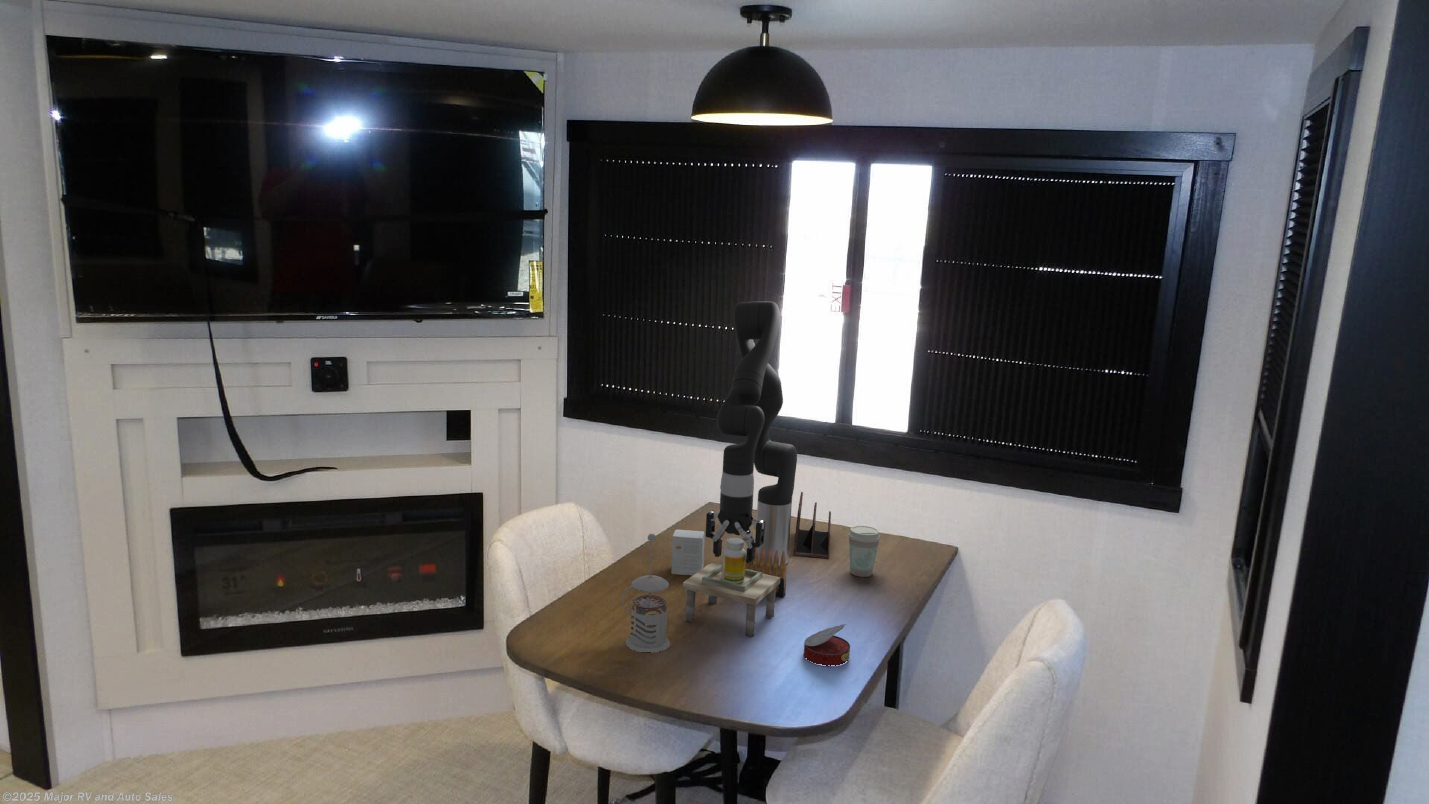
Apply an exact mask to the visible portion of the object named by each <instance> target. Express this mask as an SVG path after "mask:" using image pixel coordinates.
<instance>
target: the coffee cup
mask: <svg viewBox="0 0 1429 804" xmlns="http://www.w3.org/2000/svg"><path fill="white" fill-rule="evenodd" d="M847 537H848V544H849V545H848V549H849V550H848V551H849V570H850V574H852V575H853V576H855V577H859V578H861V577H862V578H865V577H866V578H867V577H871V576H872V575H873V573H874V572H873V571H874V567H875V563H876V557H877V552H878V547H879V543H880V542H879V541H881V535H880V531H879V530H878V529H877V528H876V527H872V526H870V525H869V526H868V525H854V526H852V527H850V530H849V532H848V534H847Z"/></svg>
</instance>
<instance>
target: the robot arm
mask: <svg viewBox="0 0 1429 804" xmlns="http://www.w3.org/2000/svg"><path fill="white" fill-rule="evenodd" d="M780 312H781V311H780V309H779V305H778V304H777V303H776V302H774V301H771V300H770V301H768V300H766V301H764V300H763V301H762V300H761V301H741V302H738V303H737V304H735V306H734V308H733V315H732V317H733V328H734V333H735V337H736V342H737V346H738V350H739V354H740V359H741V360H740V361H739V362H738V364H737V365H736V367H735V369H734V373H733V378H732V382H731V387H730V391H729V392H728V395H727V397H726V398H725V400H724V401H723V403H722V405H721V406H720V409H719V410H718V412H717V416H716V426H717V429H718V430H719V432H720V433H722V434H723V435H726V436H735V437H736V436H738V437H746V440H745V441H744V442H741V443H735V444H729V445H726V446H725V448H724V449H723V456H722V459H723V460H722V473H721V479H720V486H719V487H720V488H719V489H720V492H719V493H720V495H719V512H716V510H714V509H712V510H710V511H708V512H706V516H705V518H706V519H705V537H706V538H710V539H711V540H712V541H713V543H712V547H713V548H712V553H713V555H714V557H715V558H720V557H722V554H723V550H722V549H723V539H722V538H723V536H724V535H725V534H729V535H730V534H731V535H732V534H733V535H736V536H740V537H741V539H742V540H743V541H744V544H746V546H747V548H746V563H748V564H750V563H751V562H753V560H754V559H755V548H756V547H757V549H758V562H759V563H760V555H761V551H762V548H764V550H765V564H766V563H767V555H768V551H769V549H771V552H772V568H773V563H774V555H775V552H776V550H778V554H779V567H780V562H781V556H782V552H783V551H784V552H785V556H786V565H787V564H788V563H789V551H790V538H791V537H790V535H791V523H792V522H791V521H792V520H791V519H792V507H793V505H792V502H793V494H794V490H795V482H796V481H795V480H796V472H797V463H798V452H797V448H796V446H794V445H793V444H790V443H786V442H779V441H772V440H771V438H770V428H771V425H772V424H773V422H774V420H775V419H776V418H777V416H778V414H779V413H780V412H781V410H782V409H783V408H782V407H783V404H784V397H783V396H784V395H783V389H782V382H781V377H780V376H779V374H778V373H777V371H776V370H775V369H774V368H773V366H772V365H771V364H770V363H769V361H770V358H771V356H772V355H773V350H774V348H775V345H776V342H777V339H778V337H779V334H780V327H781V313H780ZM755 340H758V341H757V343H755V342H754V341H755ZM754 470H756V472H757V473H759V474H761V475H764V476H769V477H775V478H778V479H777V483H776V484H771V485H766V486H763V487H761V488H759V490H758V492H757V508H756V519H754V517H753V511H754V510H753V509H754V506H753V505H754V490H755V489H754V487H755V479H754V478H755V477H754V476H755V475H754ZM717 520H718V521H719V524H721V526H720V527H718V529H717V531H716V521H717ZM751 526H753V529H754V531H755V537H754V533H753V531H752V529H751Z"/></svg>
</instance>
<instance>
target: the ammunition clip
mask: <svg viewBox="0 0 1429 804" xmlns="http://www.w3.org/2000/svg"><path fill="white" fill-rule="evenodd" d="M786 565H787V564H786V556H785V552H784V551H783V552H782V556H781V562H780V566H779V554H778V550H776V552H775V555H774V563H773V567H772V552H771V549H769V551H768V555H767V563H766V564H765V550H764V548H762V551H761V555H760V563H759V562H758V549H757V547H756V548H755V559H754V560H753V561H752V562H751V563H750V564H748V563H745V569H749V570H753V571H758V572H763V573H762V574H767V575H771V576H776V577H780V584H779V585H778V586H777V587H776V592H775V598H779V599H784V598H785V597H786V591H787V589H786V585H787V584H786V581H787V579H786V578H787V575H786V574H787V572H786V571H787V566H786ZM765 597H767V595H766V596H765Z"/></svg>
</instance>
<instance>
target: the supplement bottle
mask: <svg viewBox="0 0 1429 804" xmlns="http://www.w3.org/2000/svg"><path fill="white" fill-rule="evenodd" d="M725 546H726V547H725V548H723V550H722V562H721V564H722V580H723V581H725V582H729V583H734V584H738V583H742V582H743V581H744V578H745V563H746V553H747V550H745V548H744V546H745V541H744V540H743V539H742V538H738V537H730V538H727V539H726V542H725Z"/></svg>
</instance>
